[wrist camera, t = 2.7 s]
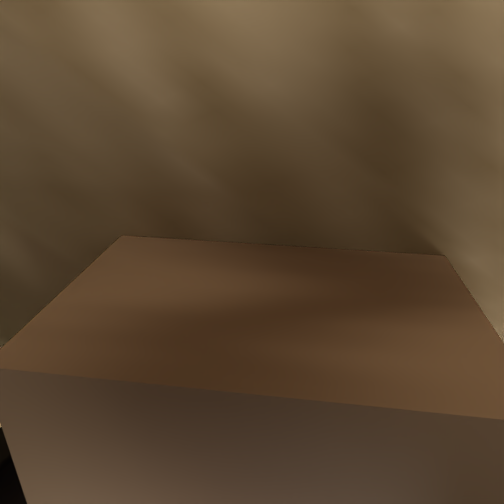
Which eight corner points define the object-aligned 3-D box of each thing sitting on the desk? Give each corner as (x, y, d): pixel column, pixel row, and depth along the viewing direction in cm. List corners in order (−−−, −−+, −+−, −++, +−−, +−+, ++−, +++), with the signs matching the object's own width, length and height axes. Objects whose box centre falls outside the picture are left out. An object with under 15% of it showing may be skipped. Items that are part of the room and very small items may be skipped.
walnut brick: (441, 251, 8) (558, 425, 4) (391, 475, 10) (435, 706, 7) (125, 232, 8) (-18, 366, 5) (152, 447, 11) (73, 642, 7)
